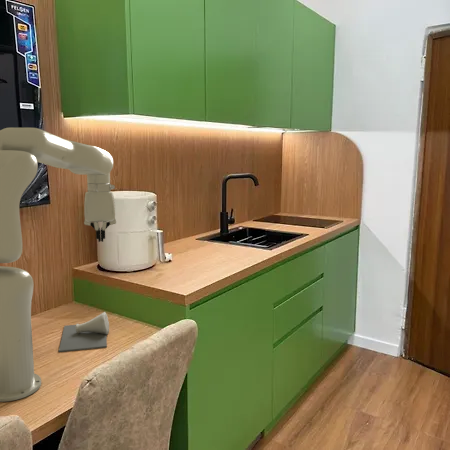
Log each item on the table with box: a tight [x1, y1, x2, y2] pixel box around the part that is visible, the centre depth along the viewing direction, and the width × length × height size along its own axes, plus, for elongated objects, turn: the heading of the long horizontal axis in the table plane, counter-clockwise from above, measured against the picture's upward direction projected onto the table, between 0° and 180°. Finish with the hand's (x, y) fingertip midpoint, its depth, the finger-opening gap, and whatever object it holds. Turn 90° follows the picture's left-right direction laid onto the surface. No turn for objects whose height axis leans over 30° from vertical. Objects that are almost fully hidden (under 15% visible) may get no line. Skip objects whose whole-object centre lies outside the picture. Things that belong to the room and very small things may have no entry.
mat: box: [58, 324, 108, 353], centre depth 141 cm, size 14×20×1 cm
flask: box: [75, 311, 110, 335], centre depth 142 cm, size 7×7×10 cm
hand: (100, 240), depth 149 cm, fingers closed
